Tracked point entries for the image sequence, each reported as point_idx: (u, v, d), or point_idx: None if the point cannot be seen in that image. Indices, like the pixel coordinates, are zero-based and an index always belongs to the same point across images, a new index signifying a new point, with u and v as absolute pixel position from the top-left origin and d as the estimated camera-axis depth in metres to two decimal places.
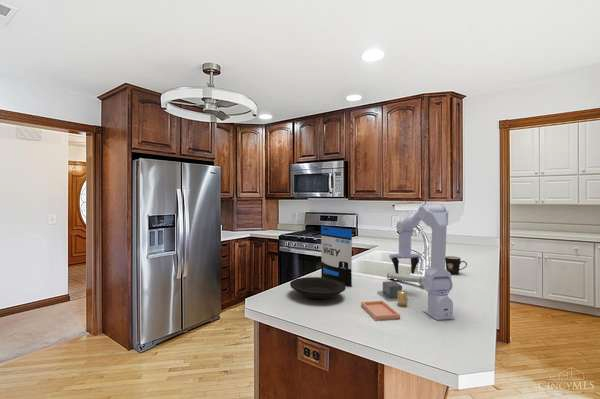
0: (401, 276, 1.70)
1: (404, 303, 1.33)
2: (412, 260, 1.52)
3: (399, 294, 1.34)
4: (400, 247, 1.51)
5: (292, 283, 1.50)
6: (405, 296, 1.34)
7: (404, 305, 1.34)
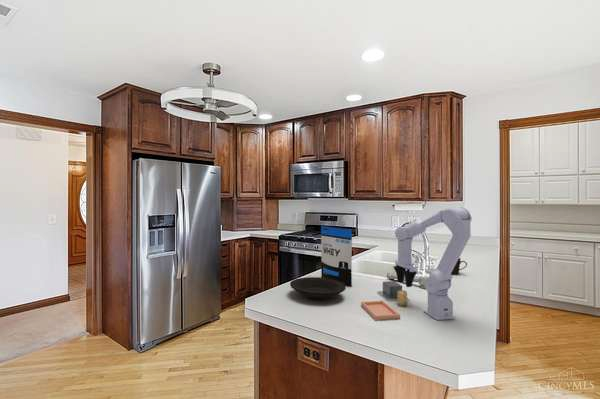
0: None
1: (404, 303, 1.33)
2: None
3: (399, 294, 1.34)
4: None
5: (292, 283, 1.50)
6: (405, 296, 1.34)
7: (404, 305, 1.34)
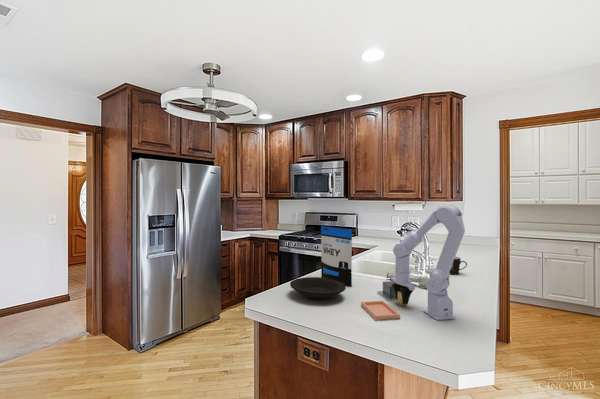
0: None
1: None
2: None
3: (399, 294, 1.34)
4: None
5: (292, 283, 1.50)
6: None
7: (404, 305, 1.34)
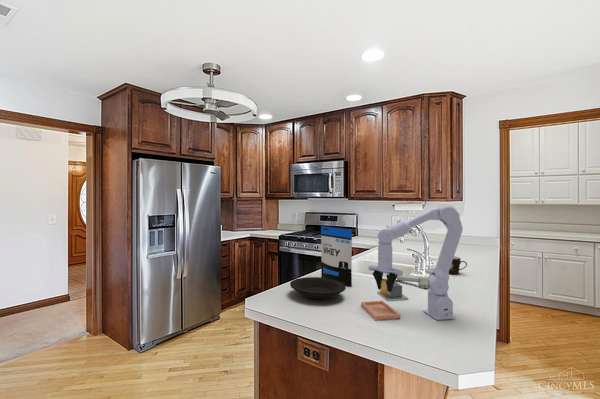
0: (400, 276, 1.70)
1: None
2: None
3: (384, 282, 1.28)
4: (378, 259, 1.30)
5: (292, 283, 1.50)
6: None
7: (389, 293, 1.28)
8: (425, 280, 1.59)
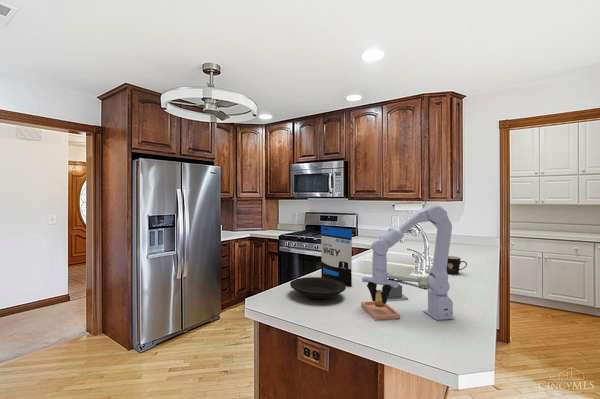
0: (400, 276, 1.70)
1: None
2: None
3: (379, 294, 1.26)
4: (372, 270, 1.28)
5: (292, 283, 1.50)
6: None
7: (384, 304, 1.26)
8: (425, 280, 1.59)
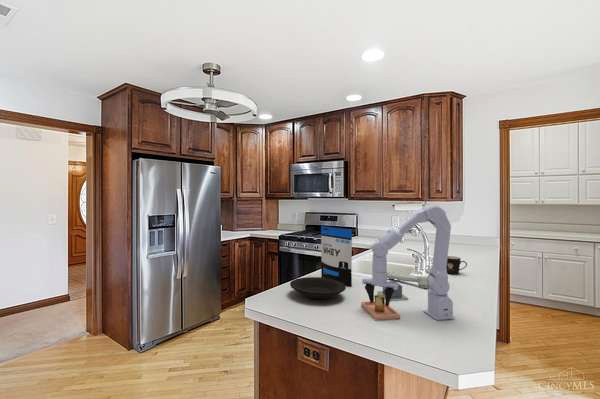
0: (400, 276, 1.70)
1: (384, 308, 1.26)
2: None
3: (379, 299, 1.26)
4: (372, 272, 1.28)
5: (292, 283, 1.50)
6: (384, 300, 1.27)
7: (384, 309, 1.26)
8: (425, 280, 1.59)
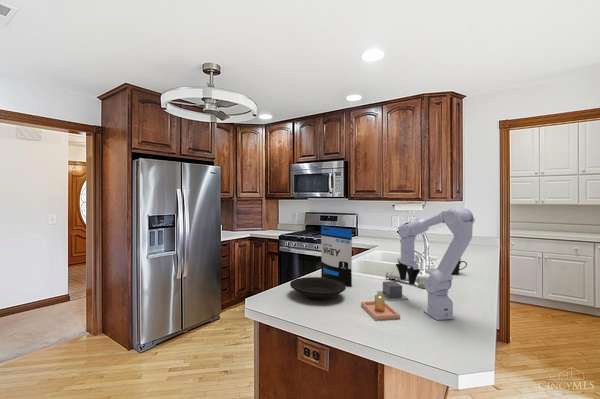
0: (399, 276, 1.71)
1: (384, 307, 1.26)
2: None
3: (379, 299, 1.26)
4: None
5: (292, 283, 1.50)
6: (384, 300, 1.27)
7: (384, 309, 1.26)
8: None
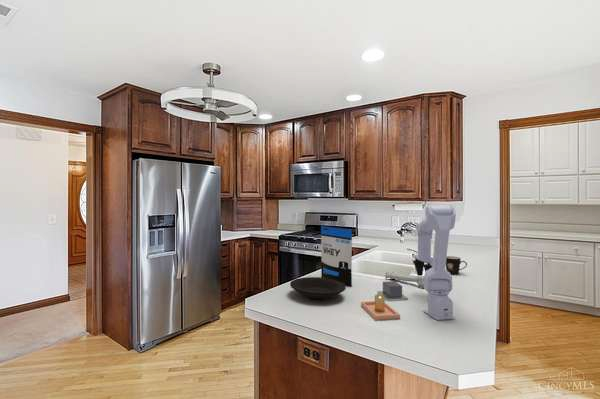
0: (399, 276, 1.71)
1: (384, 308, 1.26)
2: None
3: (379, 299, 1.26)
4: None
5: (292, 283, 1.50)
6: (384, 300, 1.27)
7: (384, 309, 1.26)
8: None
